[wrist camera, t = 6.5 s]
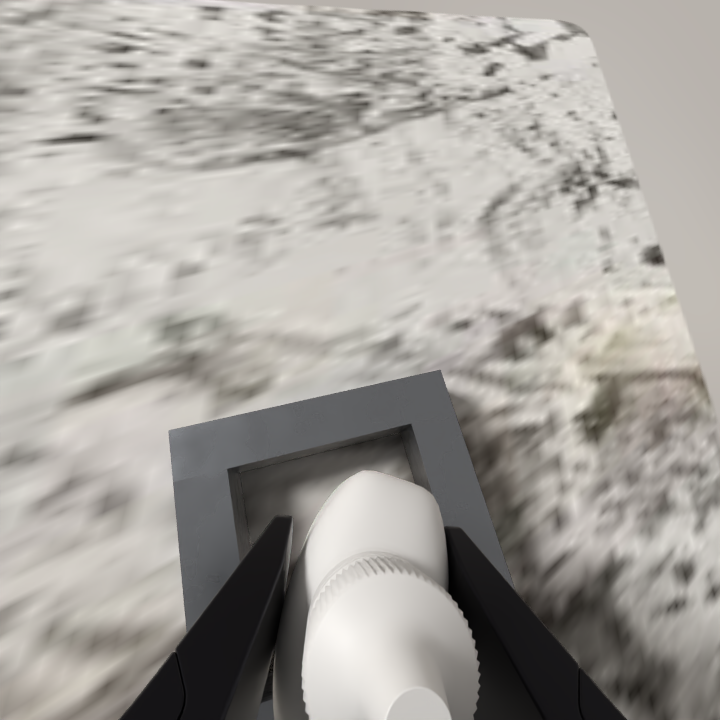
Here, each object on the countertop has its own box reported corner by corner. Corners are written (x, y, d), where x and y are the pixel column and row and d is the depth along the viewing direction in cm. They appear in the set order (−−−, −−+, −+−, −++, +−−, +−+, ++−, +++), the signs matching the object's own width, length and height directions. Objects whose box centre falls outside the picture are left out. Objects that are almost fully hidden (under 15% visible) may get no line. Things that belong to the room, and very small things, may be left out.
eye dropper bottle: (432, 547, 15) (735, 676, 4) (328, 666, 14) (361, 1442, 2) (359, 465, 16) (446, 387, 5) (252, 568, 14) (18, 800, 3)
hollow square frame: (512, 649, 19) (544, 675, 17) (222, 756, 17) (202, 808, 14) (426, 384, 24) (440, 369, 21) (188, 439, 21) (168, 430, 19)
